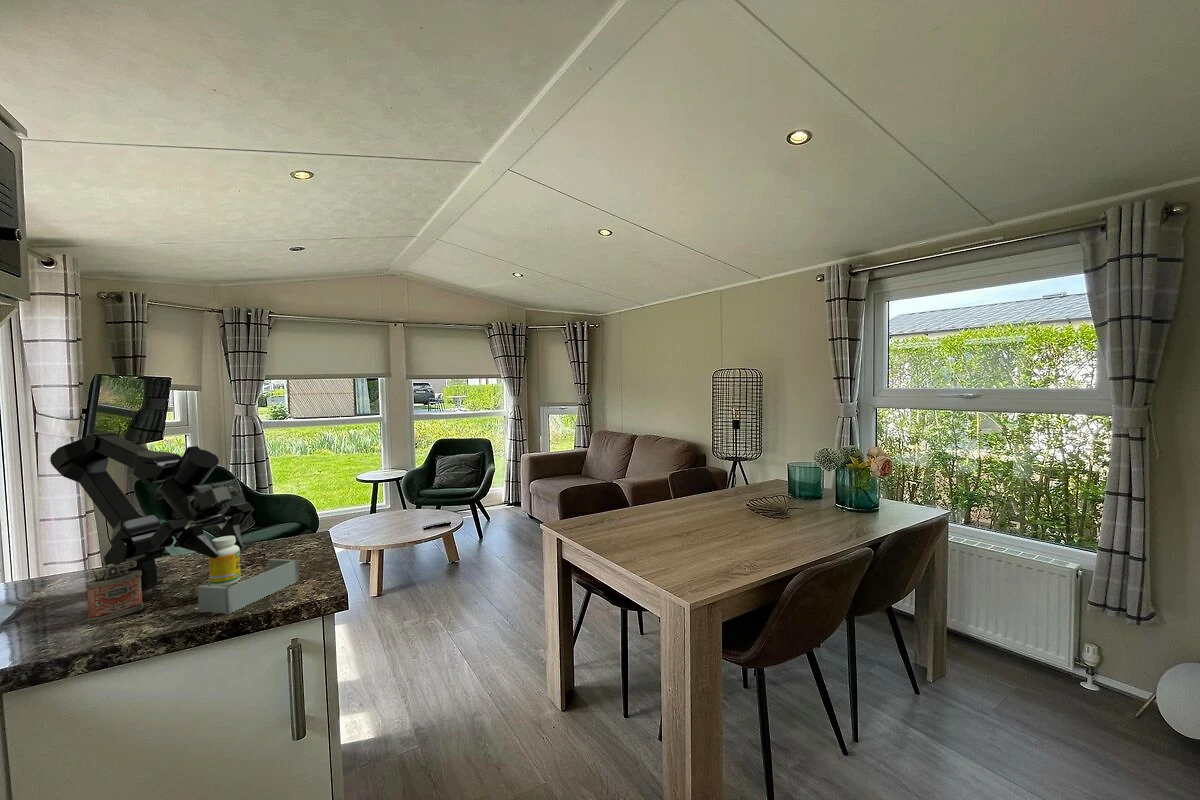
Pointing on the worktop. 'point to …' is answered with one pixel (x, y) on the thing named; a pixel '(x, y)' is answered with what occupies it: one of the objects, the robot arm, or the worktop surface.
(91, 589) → the lighter
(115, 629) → the worktop surface
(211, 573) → the supplement bottle
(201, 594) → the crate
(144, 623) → the worktop surface
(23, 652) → the worktop surface
